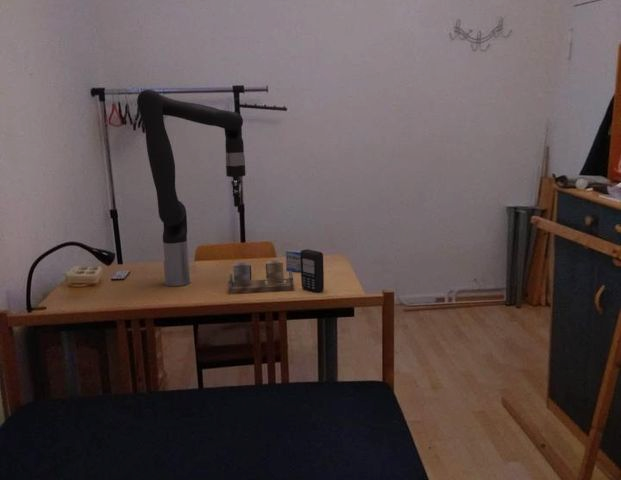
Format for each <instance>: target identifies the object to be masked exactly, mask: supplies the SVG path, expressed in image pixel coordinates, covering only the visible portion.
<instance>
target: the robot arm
mask: <svg viewBox="0 0 621 480" xmlns="http://www.w3.org/2000/svg"><path fill="white" fill-rule="evenodd" d="M136 103H137V108H138V110H139V113H140V117H141V120H142V123H143V127H144V133H145V142H146V150H147V151H146V152H147V157H148V162H149V167H150V170H151V171H150V172H151V176H152V179H153V182H154V187H155V190H156V196H157V197H156V199H157V208H158V217H159V219H160V221H161V222H162V223H163V233H162V244H163V245H162V246H163V255H164V259H163V260H164V262H163V268H164V269H163V270H164V283H165V287H166V286H167V287H168V286H170V287H181V286H182V287H183V286H185V285H188V284H189V285H190V283H191V275H190V273H191V272H190V263H189V249H188V248H189V247H188V236H187V235H188V221H187V220H188V219H187V218H188V215H187V210H186V207H185V205H184V203H183V202H182V201H181V200H179V198H178V195H177V190H176V163H175V159H174V151H173V149H172V145H171V141H170V138H169V136H168V132H167V130H166V127H165V126H166V125H165V119H164V116H167V117H174V118H177V119H178V118H179V119H183V120H186V121H190V122H192V123H193V122H194V123H197V124H201V125H206V126H209V127H210V126H212V127H218V128H222V129H224V136H225V144H224V145H225V172H226V173H225V174H226V177H229V178H232V180H231V181H230V184H231V193H232V196H233V205H234V208H240V206H241V203H242V199H241V194H242V182H243V181H242V180H241V177H245V176H247V175H246V159H245V158H246V157H245V153H244V152H245V149H244V147H245V146H244V139H243V133H242V132H243V131H242V130H243V129H242V127H243V124H244V118H243V117H242V115H241V114H240V113H238V112H236V111H230V110H225V109H219V108H217V107H213V106H209V105H204V104H200V103H194V102H187V101H181V100H176V99H172V98H170V97H167V96H164V95H161V94H160V93H159V92H158V91H156V90H154V89H144V90H142V91H141V92H140V93H139V94H138V96H137V99H136Z"/></svg>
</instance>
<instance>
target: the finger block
mask: <svg viewBox="0 0 621 480" xmlns="http://www.w3.org/2000/svg"><path fill="white" fill-rule="evenodd" d="M265 274H266V277H265V278H266V280H268V284H278V283H284V279H285V278H284V261H283V259H276V260H266V263H265Z"/></svg>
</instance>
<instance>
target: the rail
mask: <svg viewBox="0 0 621 480" xmlns="http://www.w3.org/2000/svg"><path fill="white" fill-rule="evenodd" d="M232 265H233V274H232V273H229V275H228V281H227V282H228V294H229V295H235V294H255V293H258V294H259V293H273V292H274V293H275V292H292V291H294V290H295V289H294V288H295V287H294V275H293V272H292V271H288V277H289V278H284V283H278V284H268V279H254V280H253V279H252V265H251V263H250V262H234V263H233V264H232Z"/></svg>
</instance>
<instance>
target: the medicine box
mask: <svg viewBox="0 0 621 480" xmlns="http://www.w3.org/2000/svg"><path fill="white" fill-rule="evenodd" d="M301 250H302V249H287V250H286V251H285V261H286V262H285V264H286V265H285V267H286V268H285V269H286V271H287V272H289V271H292V273H293V272H294V273H301V259H300V252H301Z"/></svg>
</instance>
